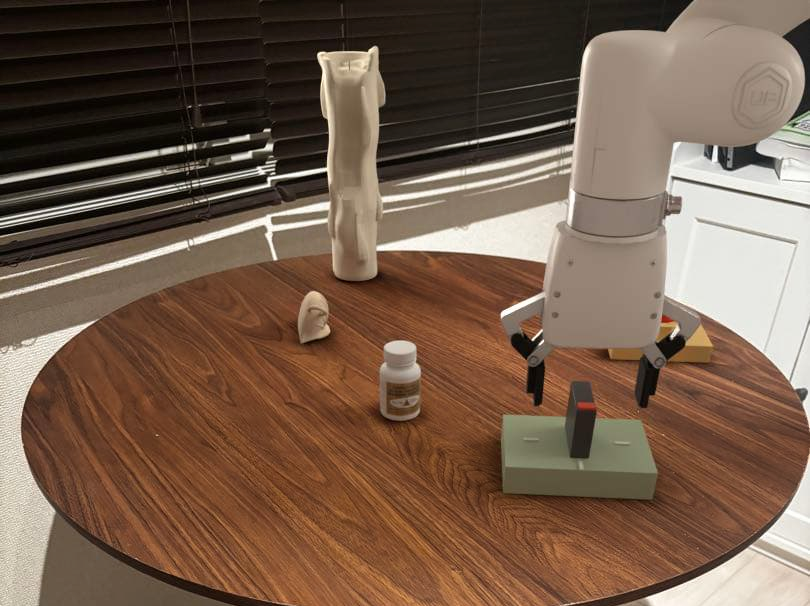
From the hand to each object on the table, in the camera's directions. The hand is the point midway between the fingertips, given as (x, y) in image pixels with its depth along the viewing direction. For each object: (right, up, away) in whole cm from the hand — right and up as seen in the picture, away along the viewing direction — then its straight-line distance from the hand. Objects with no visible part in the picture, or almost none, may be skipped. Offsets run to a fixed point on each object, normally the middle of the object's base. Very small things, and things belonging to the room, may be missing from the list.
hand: (588, 400), depth 76 cm
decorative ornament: (-29, +14, +30) cm, 44 cm away
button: (+15, +15, +25) cm, 33 cm away
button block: (+15, +12, +27) cm, 33 cm away
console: (-1, -6, +5) cm, 8 cm away
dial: (-1, -4, +3) cm, 4 cm away
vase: (-25, +27, +47) cm, 60 cm away
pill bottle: (-18, +1, +14) cm, 22 cm away
